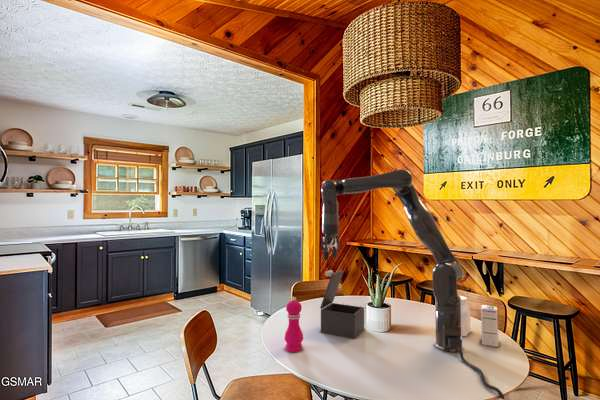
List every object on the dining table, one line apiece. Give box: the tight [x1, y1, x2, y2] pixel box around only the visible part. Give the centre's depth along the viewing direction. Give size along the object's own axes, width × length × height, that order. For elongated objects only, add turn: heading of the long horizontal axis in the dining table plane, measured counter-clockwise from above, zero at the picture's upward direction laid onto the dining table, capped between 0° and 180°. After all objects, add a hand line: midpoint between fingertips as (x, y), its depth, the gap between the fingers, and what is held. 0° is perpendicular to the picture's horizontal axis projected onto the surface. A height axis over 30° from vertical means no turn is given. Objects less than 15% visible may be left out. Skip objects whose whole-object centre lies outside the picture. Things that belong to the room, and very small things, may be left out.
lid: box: [319, 269, 345, 310], centre depth 157 cm, size 16×13×5 cm
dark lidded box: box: [320, 302, 365, 339], centre depth 154 cm, size 16×13×10 cm
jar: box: [458, 294, 472, 337], centre depth 152 cm, size 12×10×15 cm
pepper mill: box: [284, 296, 304, 353], centre depth 134 cm, size 7×7×20 cm
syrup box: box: [480, 304, 499, 348], centre depth 139 cm, size 6×6×14 cm
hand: (330, 258), depth 159 cm, fingers open, 8 cm apart
